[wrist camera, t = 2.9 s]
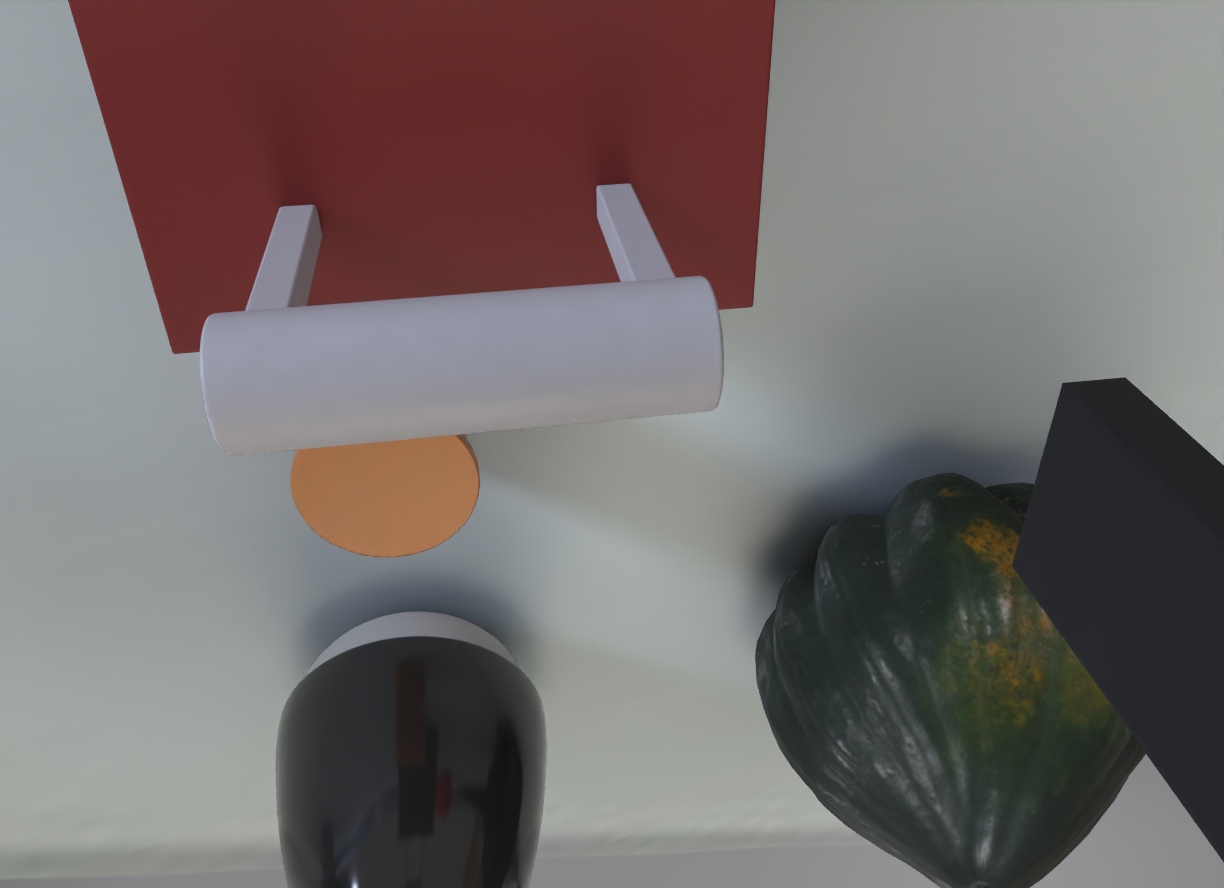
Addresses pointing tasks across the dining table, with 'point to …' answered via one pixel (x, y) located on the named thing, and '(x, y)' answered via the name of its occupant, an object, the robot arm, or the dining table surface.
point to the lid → (439, 204)
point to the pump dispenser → (411, 761)
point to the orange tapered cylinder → (387, 493)
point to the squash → (940, 691)
